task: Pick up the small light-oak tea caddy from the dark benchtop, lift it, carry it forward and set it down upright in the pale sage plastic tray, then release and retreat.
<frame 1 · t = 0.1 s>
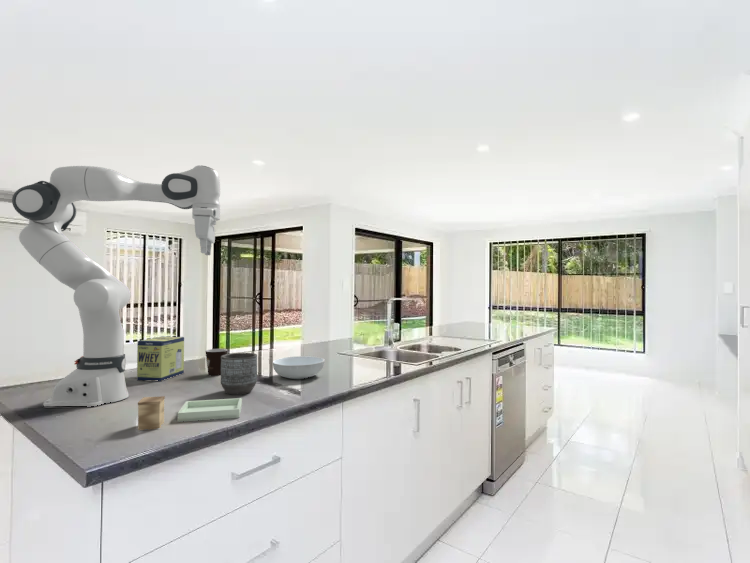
hand: (205, 254, 144), 48 cm above the worktop, tool pointing down, fingers open, 8 cm apart
tray: (211, 413, 121), on the worktop
tea caddy: (151, 426, 110), on the worktop
protein box: (161, 377, 169), on the worktop
coffee mug: (216, 375, 173), on the worktop
serving bowl: (298, 377, 171), on the worktop
planter: (239, 392, 146), on the worktop
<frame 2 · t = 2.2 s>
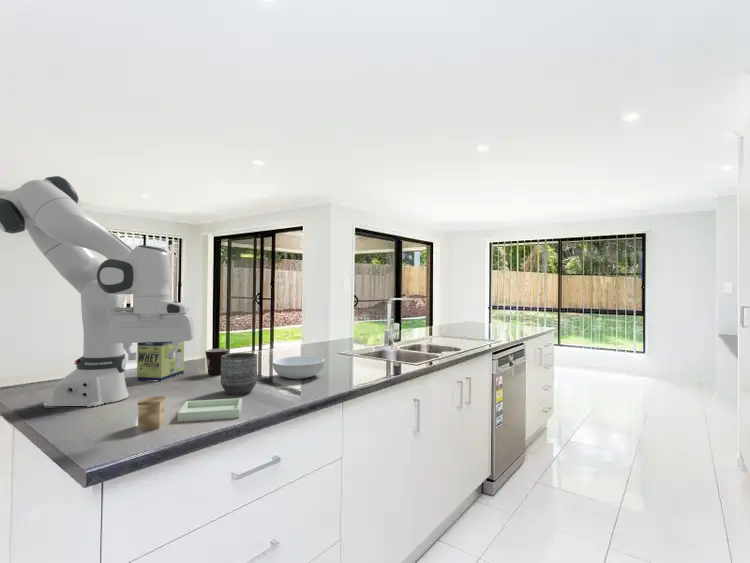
hand: (152, 359, 110), 18 cm above the worktop, tool pointing down, fingers open, 8 cm apart
nothing on the worktop moved.
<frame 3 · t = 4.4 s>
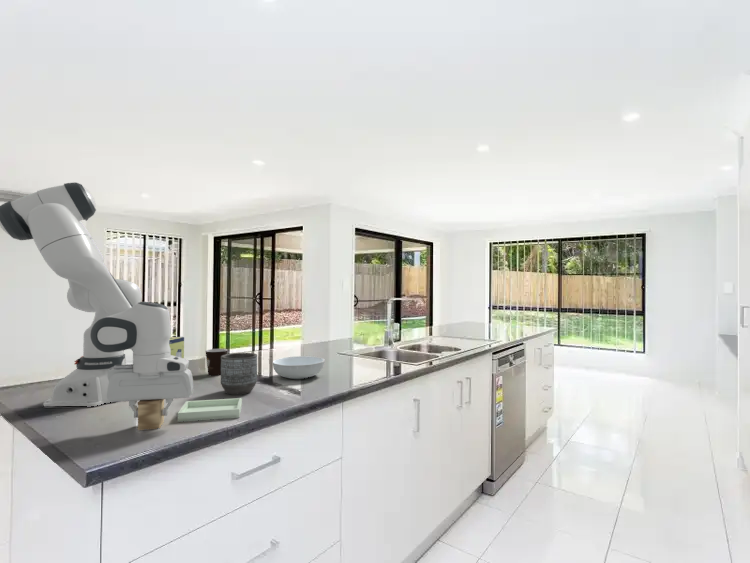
hand: (151, 416, 110), 3 cm above the worktop, tool pointing down, fingers closed on tea caddy, 5 cm apart
tea caddy: (151, 426, 110), on the worktop, touching gripper
everything else where it was.
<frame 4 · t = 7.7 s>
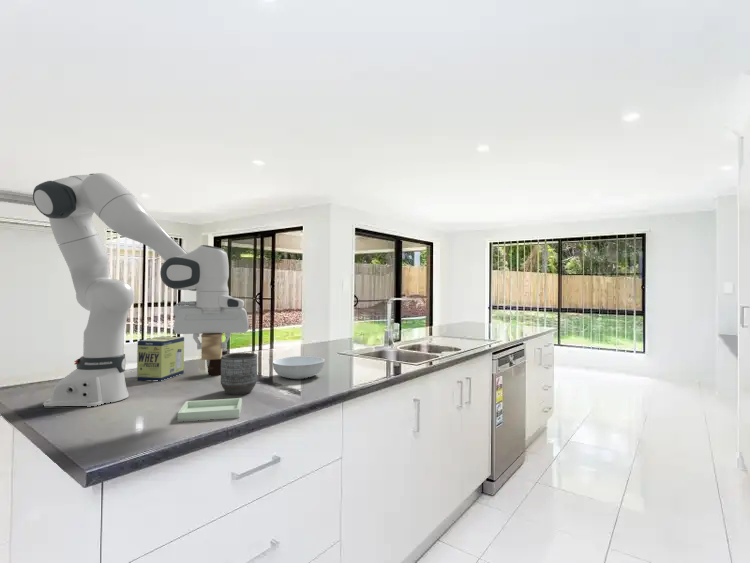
hand: (212, 348, 121), 19 cm above the worktop, tool pointing down, fingers closed on tea caddy, 5 cm apart
tea caddy: (212, 358, 121), point 16 cm above the worktop, touching gripper
everything else where it was.
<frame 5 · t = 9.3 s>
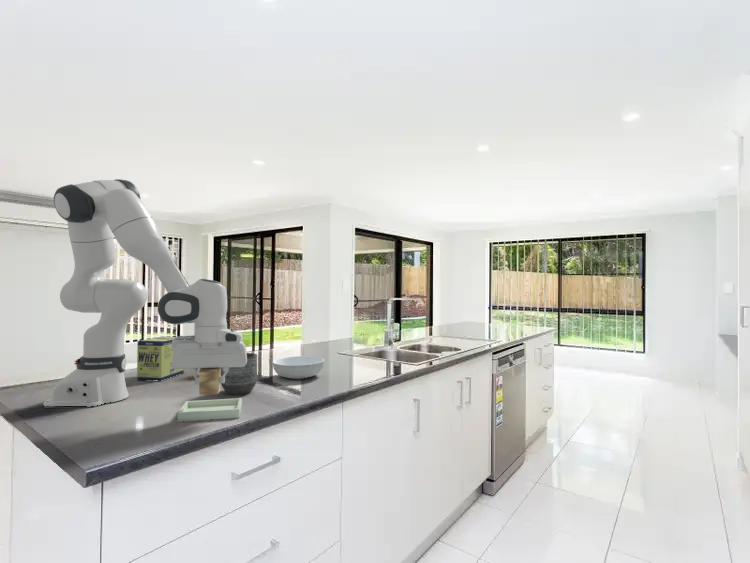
hand: (210, 383, 120), 9 cm above the worktop, tool pointing down, fingers closed on tea caddy, 5 cm apart
tea caddy: (210, 392, 120), point 6 cm above the worktop, touching gripper
everything else where it was.
when the fingers open (4 cm above the worktop, at t = 10.7 s): tea caddy stays where it is, resting on tray.
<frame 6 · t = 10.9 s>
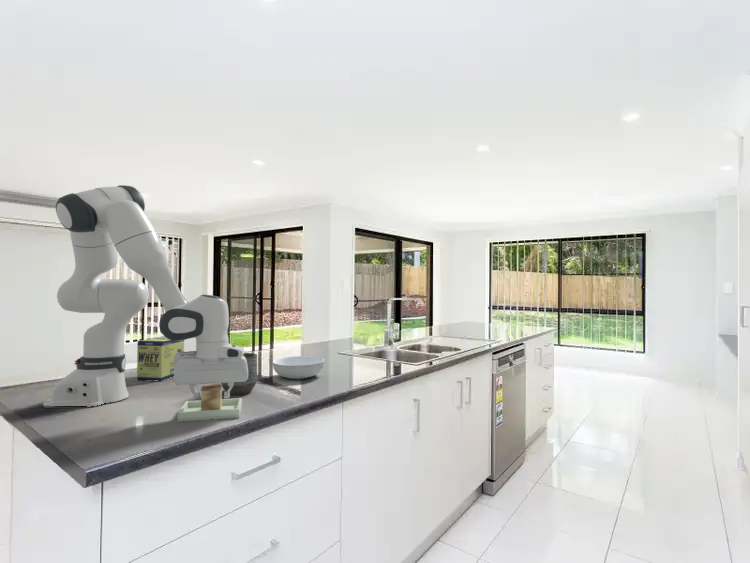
hand: (211, 398, 121), 4 cm above the worktop, tool pointing down, fingers open, 7 cm apart
tea caddy: (211, 410, 121), point 1 cm above the worktop, touching tray
everything else where it was.
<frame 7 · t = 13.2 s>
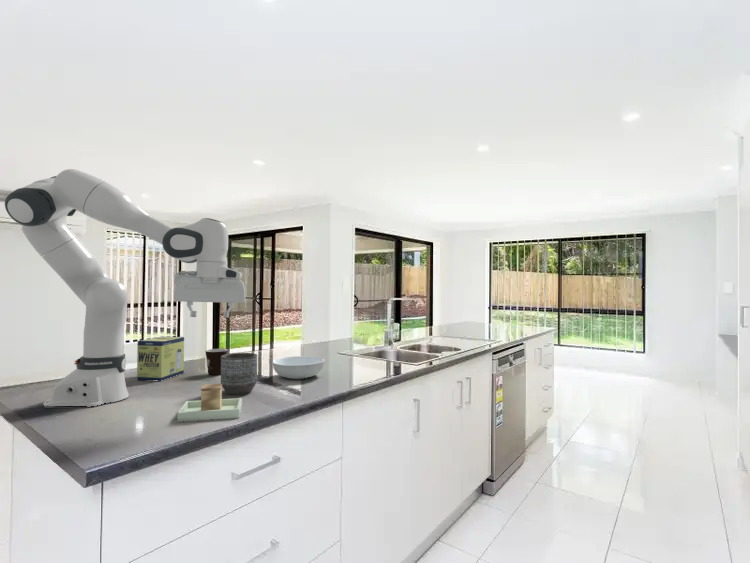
hand: (209, 317, 127), 27 cm above the worktop, tool pointing down, fingers open, 8 cm apart
nothing on the worktop moved.
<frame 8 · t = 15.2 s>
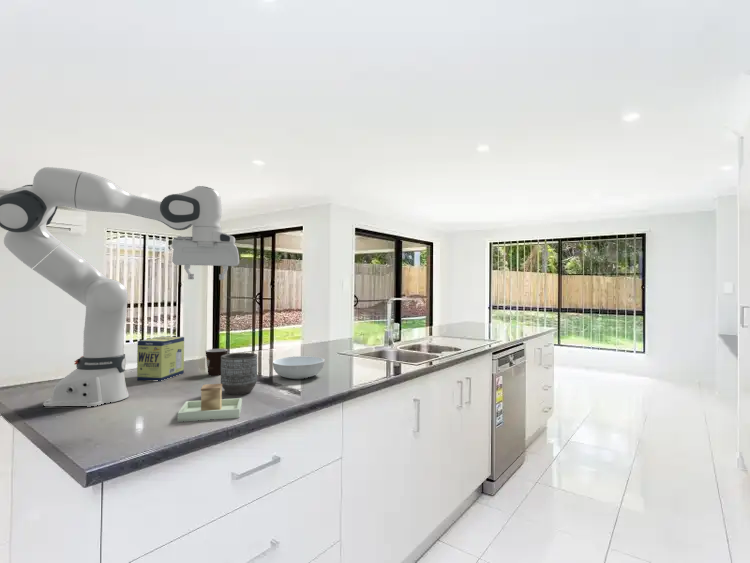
hand: (206, 279, 136), 39 cm above the worktop, tool pointing down, fingers open, 8 cm apart
nothing on the worktop moved.
at the end: tea caddy 0.1 cm from the tray (horizontally); tea caddy tilted 0°; tea caddy point 0.8 cm above the worktop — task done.
